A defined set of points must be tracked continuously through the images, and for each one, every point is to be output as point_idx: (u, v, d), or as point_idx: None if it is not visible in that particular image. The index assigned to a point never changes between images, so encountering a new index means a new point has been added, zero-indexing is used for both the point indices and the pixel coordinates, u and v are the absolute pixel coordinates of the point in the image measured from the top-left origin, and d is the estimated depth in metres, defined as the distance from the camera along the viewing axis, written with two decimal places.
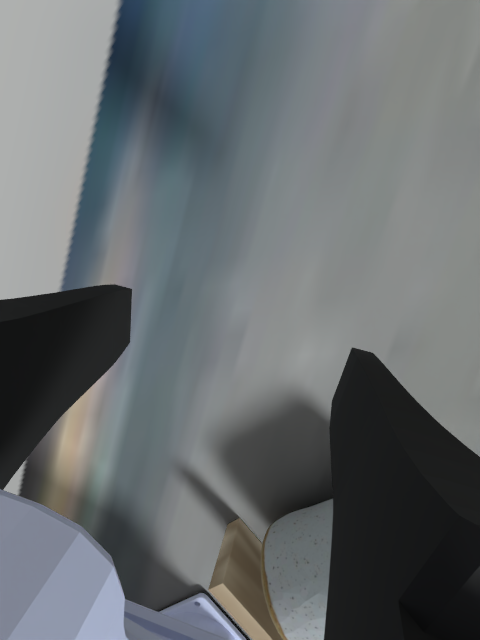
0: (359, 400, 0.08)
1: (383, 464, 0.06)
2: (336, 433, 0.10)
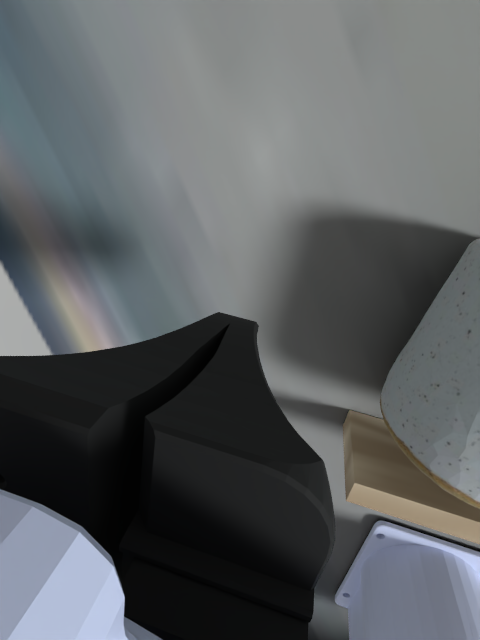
0: None
1: None
2: None
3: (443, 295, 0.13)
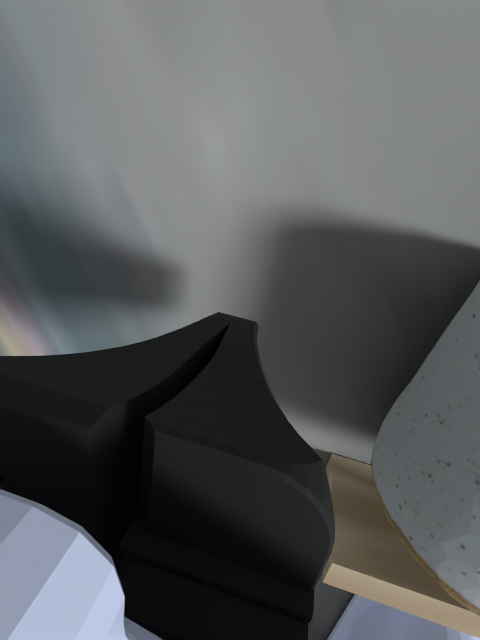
0: None
1: None
2: None
3: (454, 335, 0.09)
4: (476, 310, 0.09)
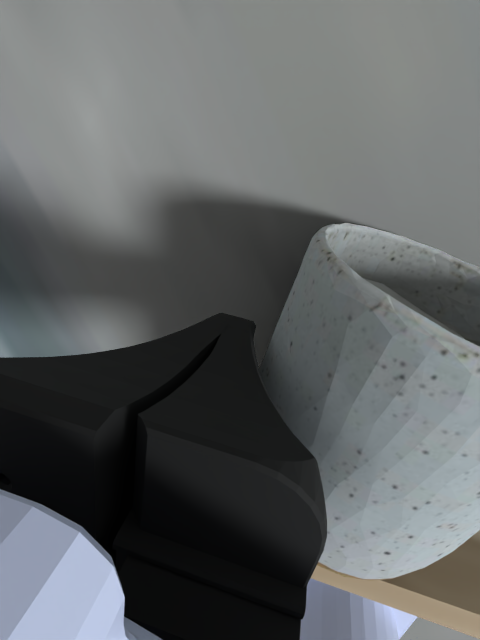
0: None
1: None
2: None
3: (289, 295, 0.10)
4: None
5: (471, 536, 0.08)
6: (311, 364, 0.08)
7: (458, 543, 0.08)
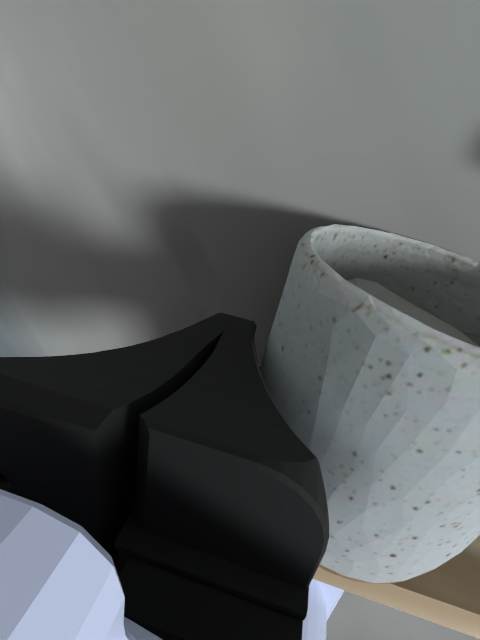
0: None
1: None
2: None
3: None
4: None
5: (479, 534, 0.08)
6: (302, 368, 0.08)
7: (466, 542, 0.08)
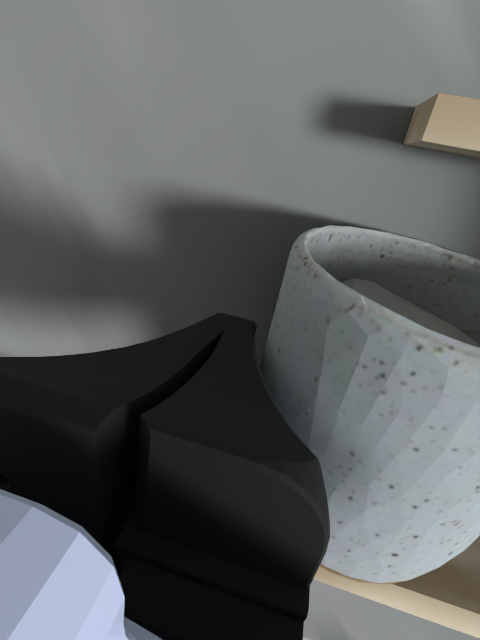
0: None
1: None
2: None
3: None
4: None
5: None
6: (298, 369, 0.08)
7: (468, 540, 0.08)
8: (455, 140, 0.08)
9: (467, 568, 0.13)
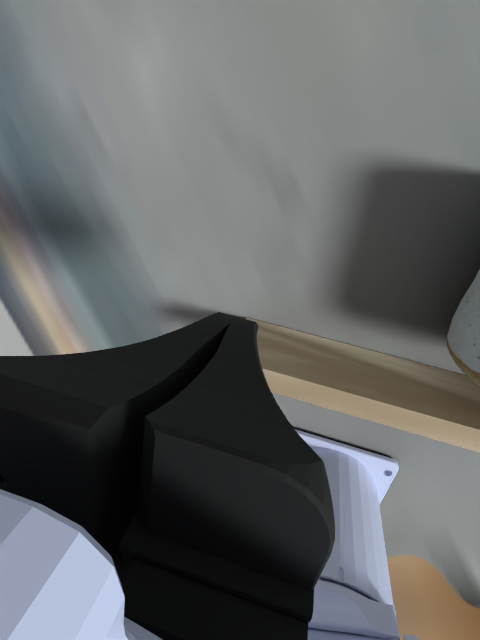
0: None
1: None
2: None
3: None
4: None
5: None
6: None
7: None
8: None
9: None
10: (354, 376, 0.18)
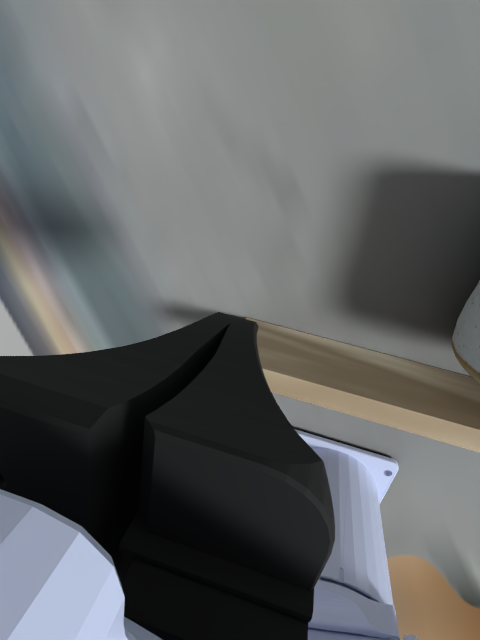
0: None
1: None
2: None
3: None
4: None
5: None
6: None
7: None
8: None
9: None
10: (354, 376, 0.18)
